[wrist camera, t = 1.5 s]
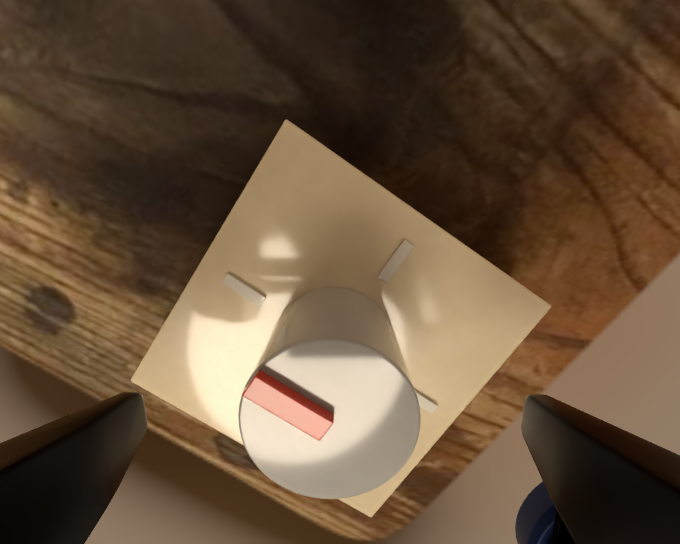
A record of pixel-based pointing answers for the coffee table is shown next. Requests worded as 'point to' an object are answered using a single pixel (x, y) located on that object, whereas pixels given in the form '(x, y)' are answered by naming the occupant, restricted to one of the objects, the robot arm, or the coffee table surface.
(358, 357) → the grey rotary knob
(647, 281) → the coffee table surface
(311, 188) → the plate
